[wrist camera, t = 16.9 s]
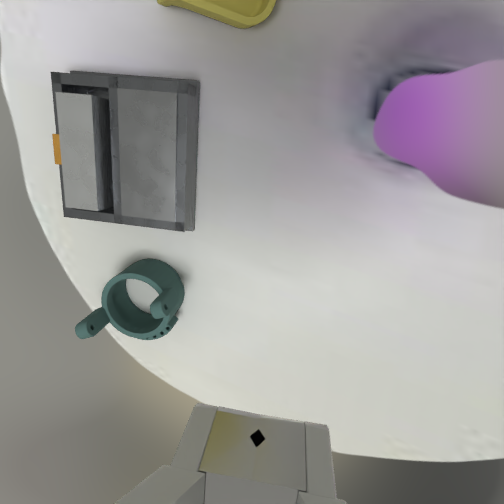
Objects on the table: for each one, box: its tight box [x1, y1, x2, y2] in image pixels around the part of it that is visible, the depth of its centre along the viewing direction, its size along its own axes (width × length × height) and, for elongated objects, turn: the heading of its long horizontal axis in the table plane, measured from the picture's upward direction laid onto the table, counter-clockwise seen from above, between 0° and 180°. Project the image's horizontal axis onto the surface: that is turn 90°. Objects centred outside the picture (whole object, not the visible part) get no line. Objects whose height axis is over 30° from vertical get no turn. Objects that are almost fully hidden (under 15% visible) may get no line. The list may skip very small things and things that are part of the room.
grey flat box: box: [51, 71, 200, 232], centre depth 35 cm, size 16×14×4 cm
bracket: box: [75, 259, 185, 340], centre depth 38 cm, size 9×9×9 cm
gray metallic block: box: [55, 92, 114, 211], centre depth 35 cm, size 11×4×5 cm, turn 175°
